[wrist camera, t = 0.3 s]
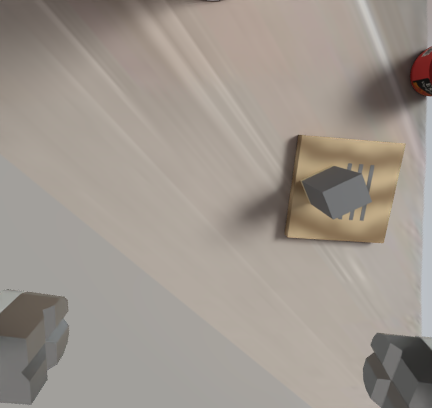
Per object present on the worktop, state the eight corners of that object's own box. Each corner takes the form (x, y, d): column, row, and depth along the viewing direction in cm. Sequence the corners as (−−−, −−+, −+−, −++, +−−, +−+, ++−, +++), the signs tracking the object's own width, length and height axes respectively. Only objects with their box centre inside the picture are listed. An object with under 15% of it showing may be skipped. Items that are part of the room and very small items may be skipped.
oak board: (298, 134, 53) (302, 135, 51) (398, 143, 54) (405, 143, 52) (284, 233, 57) (287, 237, 55) (377, 239, 59) (383, 243, 57)
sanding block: (309, 203, 54) (333, 219, 44) (300, 180, 53) (322, 192, 43) (341, 188, 54) (372, 201, 44) (332, 165, 53) (362, 173, 43)
